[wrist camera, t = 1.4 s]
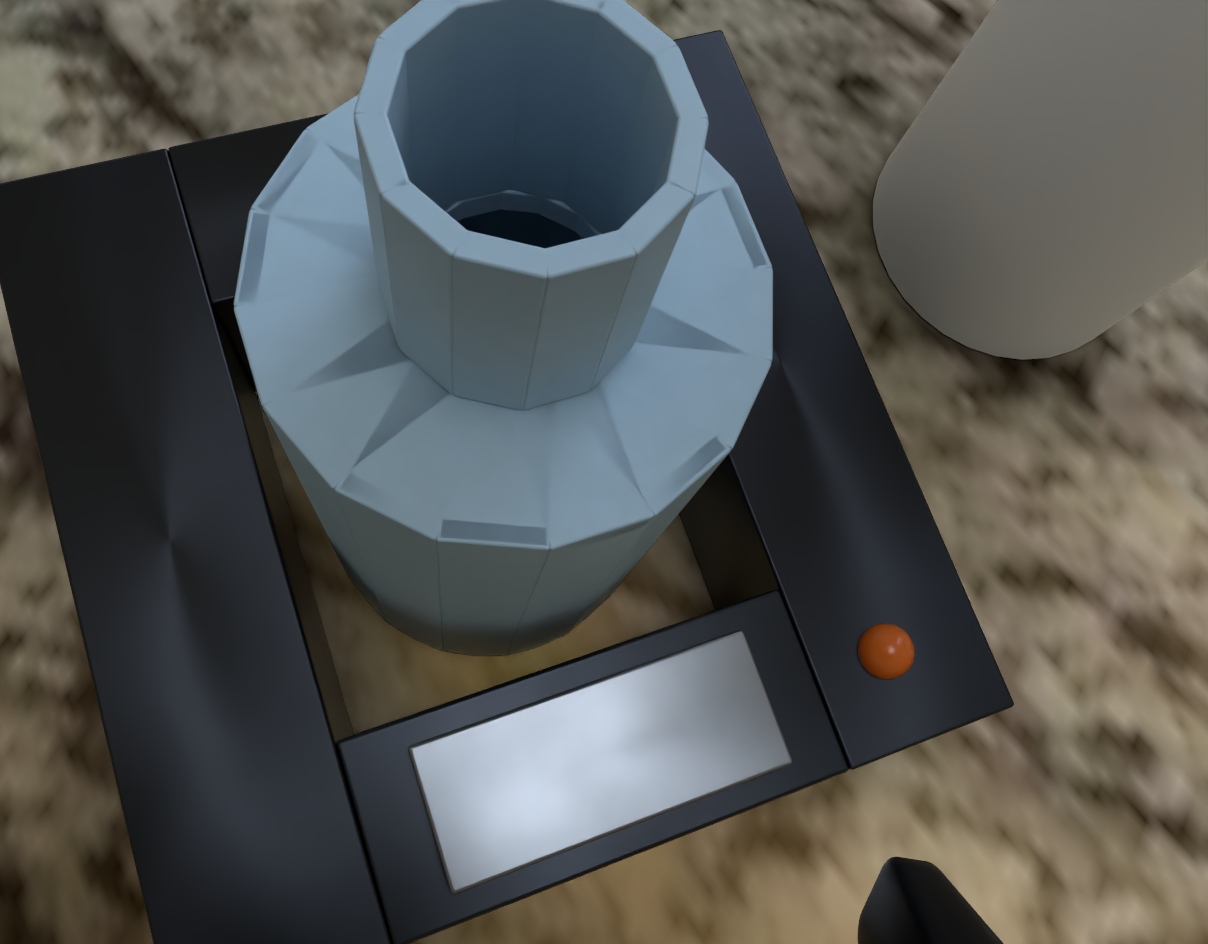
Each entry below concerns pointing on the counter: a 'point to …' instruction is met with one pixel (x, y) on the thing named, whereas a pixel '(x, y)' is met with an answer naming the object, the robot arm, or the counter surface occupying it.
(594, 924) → the counter surface
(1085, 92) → the cylindrical container
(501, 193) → the vase
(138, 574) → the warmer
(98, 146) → the counter surface
